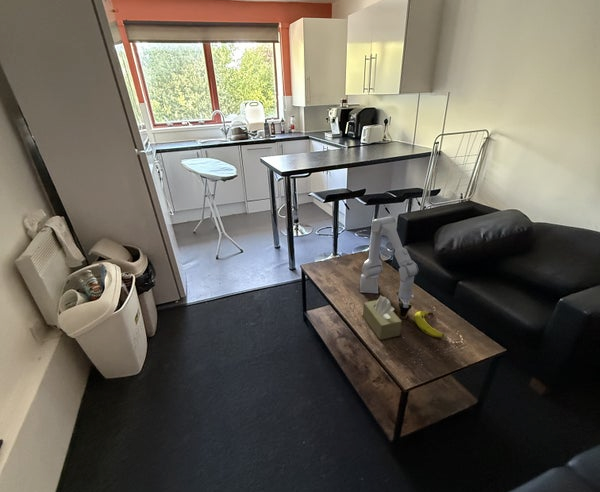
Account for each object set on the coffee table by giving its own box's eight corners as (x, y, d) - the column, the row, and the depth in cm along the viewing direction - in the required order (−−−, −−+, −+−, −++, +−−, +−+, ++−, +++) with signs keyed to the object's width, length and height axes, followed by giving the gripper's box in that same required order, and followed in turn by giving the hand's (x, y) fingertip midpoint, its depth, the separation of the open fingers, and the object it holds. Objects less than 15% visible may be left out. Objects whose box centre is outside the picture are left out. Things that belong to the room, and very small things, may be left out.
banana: (436, 334, 135) (459, 327, 142) (407, 311, 148) (429, 306, 155) (433, 343, 137) (455, 335, 144) (404, 319, 150) (426, 313, 157)
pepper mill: (397, 318, 152) (399, 303, 148) (396, 312, 156) (398, 298, 152) (407, 319, 152) (409, 304, 147) (406, 313, 155) (408, 298, 151)
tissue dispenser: (400, 336, 141) (405, 307, 133) (380, 340, 139) (383, 311, 131) (380, 311, 157) (383, 284, 149) (362, 315, 155) (364, 288, 147)
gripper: (417, 296, 139) (412, 321, 146) (413, 279, 151) (409, 303, 158) (400, 295, 140) (397, 319, 147) (397, 278, 152) (394, 302, 159)
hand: (402, 311), depth 153 cm, fingers open, 7 cm apart
